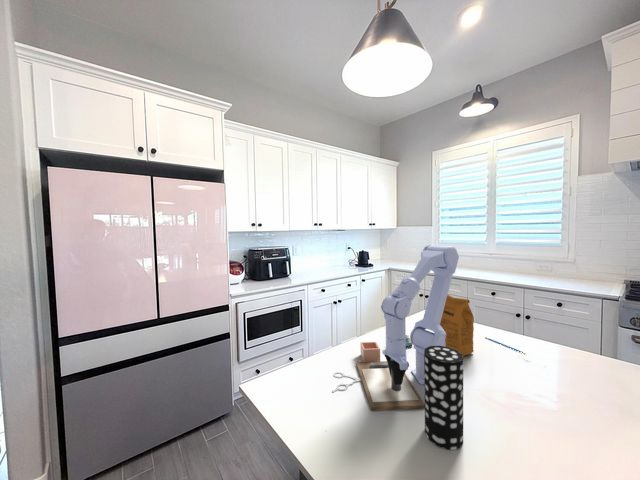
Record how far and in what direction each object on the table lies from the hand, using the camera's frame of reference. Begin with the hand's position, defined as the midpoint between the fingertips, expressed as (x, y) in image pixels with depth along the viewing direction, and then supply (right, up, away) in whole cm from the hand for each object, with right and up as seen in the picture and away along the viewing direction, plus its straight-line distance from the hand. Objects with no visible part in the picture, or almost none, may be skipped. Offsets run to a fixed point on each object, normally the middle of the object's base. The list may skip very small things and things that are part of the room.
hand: (396, 380), depth 79 cm
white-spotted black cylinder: (+6, -4, -17) cm, 18 cm away
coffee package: (+31, -2, +26) cm, 40 cm away
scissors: (-10, -4, +7) cm, 13 cm away
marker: (0, -2, 0) cm, 2 cm away
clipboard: (-2, -3, +5) cm, 6 cm away
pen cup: (-4, -3, +21) cm, 21 cm away
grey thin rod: (+53, -2, +28) cm, 60 cm away
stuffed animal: (+12, -2, +33) cm, 35 cm away
